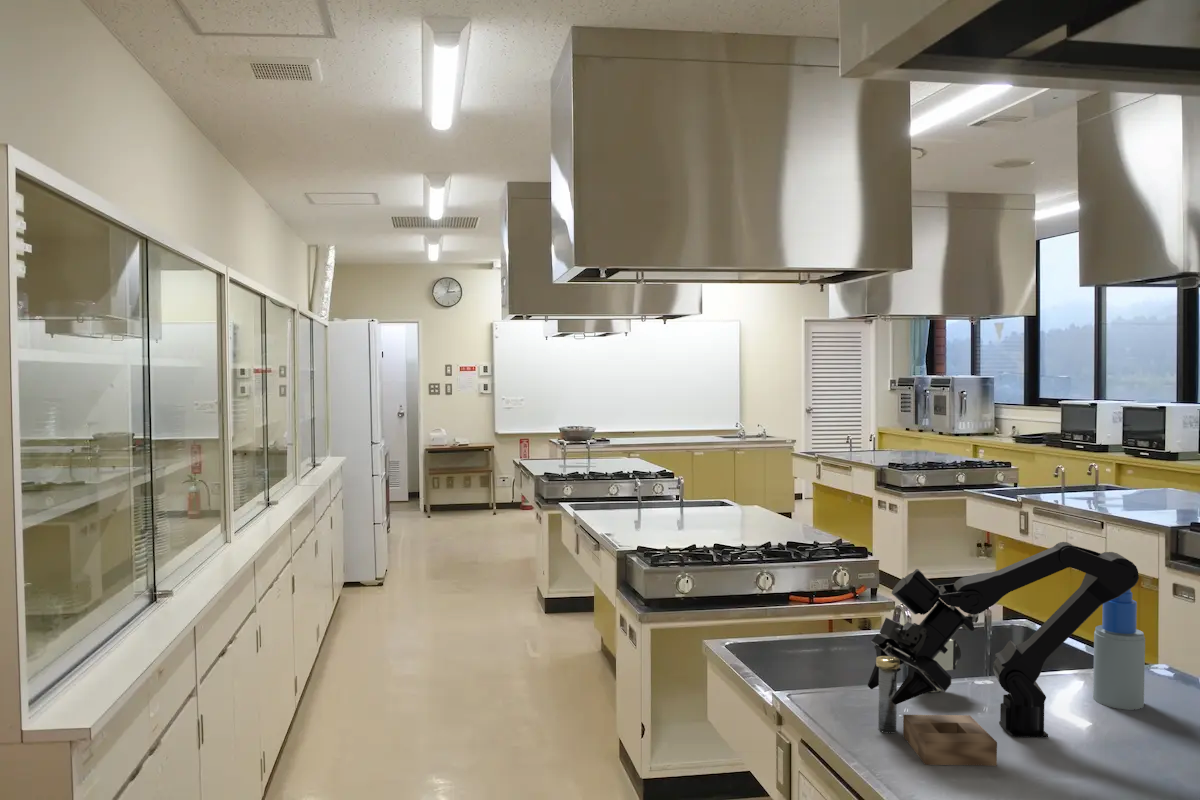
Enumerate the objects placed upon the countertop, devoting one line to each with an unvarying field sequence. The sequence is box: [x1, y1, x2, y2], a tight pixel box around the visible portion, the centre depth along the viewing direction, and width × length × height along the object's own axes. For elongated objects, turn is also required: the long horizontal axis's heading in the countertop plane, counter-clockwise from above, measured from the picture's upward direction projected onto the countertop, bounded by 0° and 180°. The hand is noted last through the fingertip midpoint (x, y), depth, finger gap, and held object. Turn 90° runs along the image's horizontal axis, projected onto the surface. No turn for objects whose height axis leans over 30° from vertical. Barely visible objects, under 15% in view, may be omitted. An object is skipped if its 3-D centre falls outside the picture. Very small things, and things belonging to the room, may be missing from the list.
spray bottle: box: [1092, 588, 1146, 711], centre depth 182 cm, size 9×9×25 cm
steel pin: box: [875, 656, 901, 734], centre depth 167 cm, size 4×4×13 cm
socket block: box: [902, 714, 998, 767], centre depth 158 cm, size 12×12×4 cm
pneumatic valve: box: [902, 637, 962, 693], centre depth 189 cm, size 6×12×12 cm, turn 105°
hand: (880, 694), depth 167 cm, fingers open, 8 cm apart
